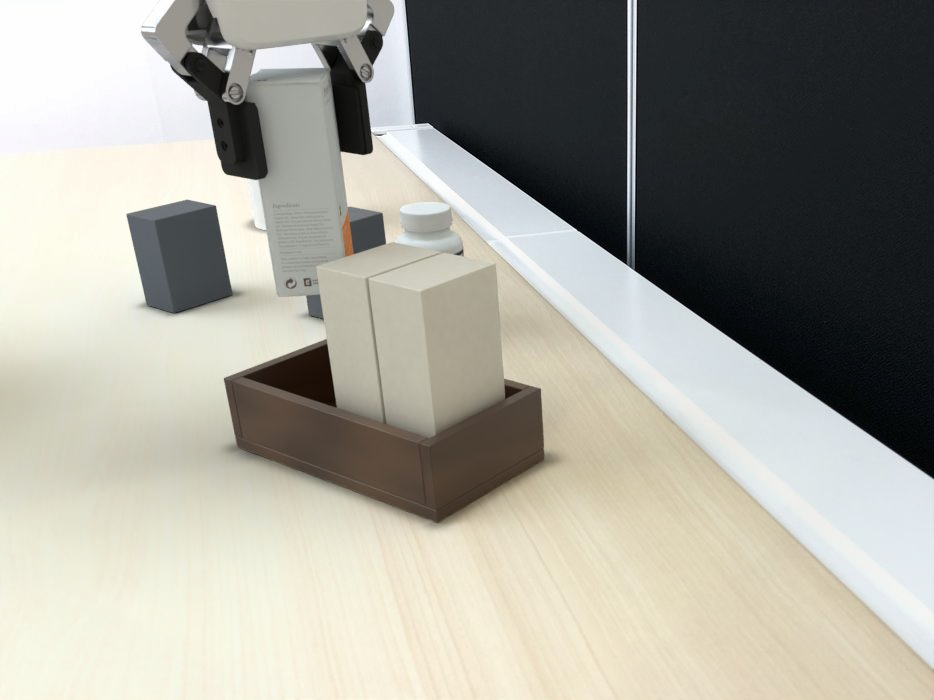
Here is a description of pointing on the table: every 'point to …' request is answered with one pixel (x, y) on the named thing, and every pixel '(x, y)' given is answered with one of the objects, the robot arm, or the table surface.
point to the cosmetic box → (301, 175)
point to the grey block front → (356, 243)
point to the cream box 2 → (438, 342)
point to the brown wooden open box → (381, 437)
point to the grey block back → (180, 255)
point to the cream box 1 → (358, 323)
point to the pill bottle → (429, 228)
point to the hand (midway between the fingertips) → (300, 161)
